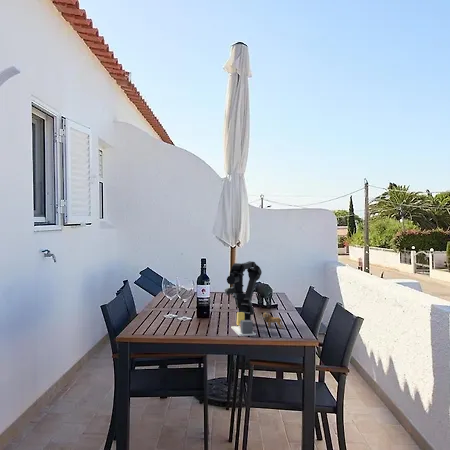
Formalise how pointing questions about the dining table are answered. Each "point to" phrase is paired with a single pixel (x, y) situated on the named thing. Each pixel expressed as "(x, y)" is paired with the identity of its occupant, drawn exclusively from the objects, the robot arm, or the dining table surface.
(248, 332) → the cord rail
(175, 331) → the dining table surface
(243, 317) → the yellow pegged block
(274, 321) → the lion figurine
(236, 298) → the robot arm
